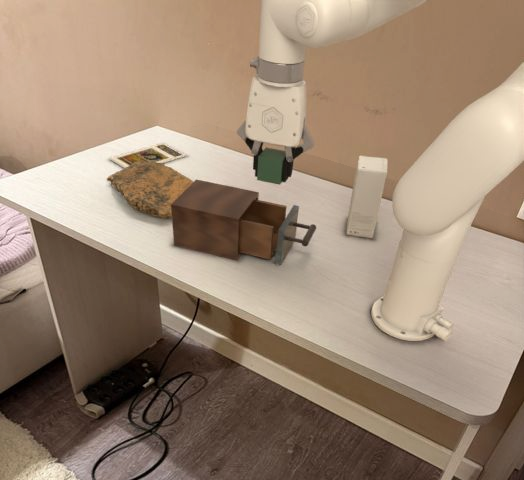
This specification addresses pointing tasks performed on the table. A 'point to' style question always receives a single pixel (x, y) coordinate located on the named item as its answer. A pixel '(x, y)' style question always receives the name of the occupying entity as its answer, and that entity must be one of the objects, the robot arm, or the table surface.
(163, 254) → the table surface
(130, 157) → the trading card
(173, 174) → the rock
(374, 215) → the white tower device
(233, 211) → the cabinet
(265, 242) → the drawer
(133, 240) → the table surface
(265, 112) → the robot arm
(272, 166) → the block
